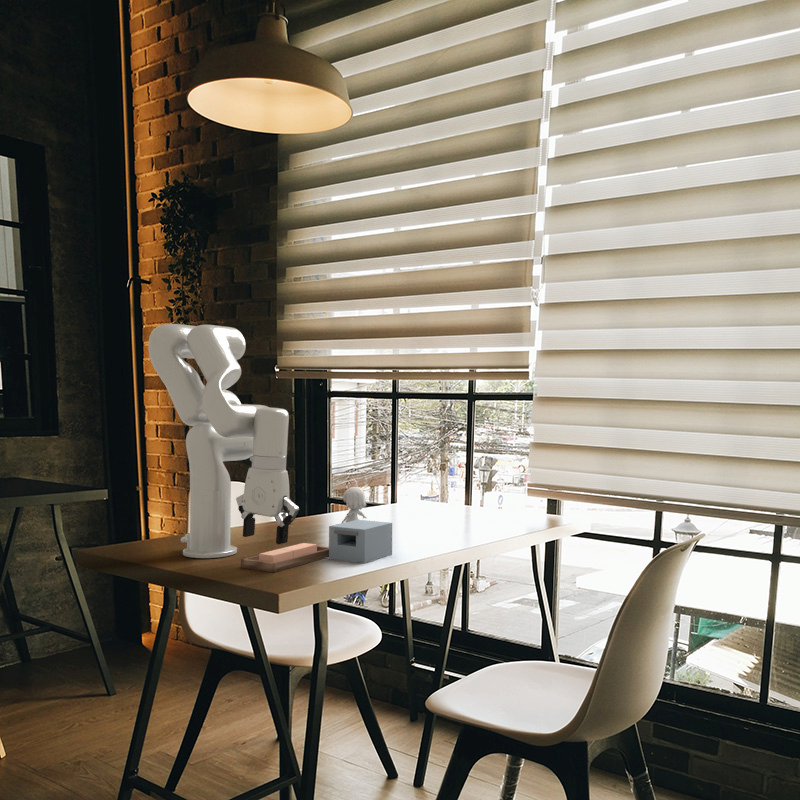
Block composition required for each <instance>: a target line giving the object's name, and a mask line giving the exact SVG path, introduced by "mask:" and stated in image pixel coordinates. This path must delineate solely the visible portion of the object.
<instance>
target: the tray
mask: <svg viewBox="0 0 800 800" xmlns="http://www.w3.org/2000/svg"><path fill="white" fill-rule="evenodd" d="M327 558H329V546H321V545H317V552H313V553H310V554H306V555H302V556H298V557H295V558H291V559H287V560H283V561H280V562H276V563H271V562H264V561H259V554H258V555H253V556H250V557H244V558H241V559H240V569H241V568H242V569H249V570H254V571H260V572H261V571H262V572H270V573H277V572H281V571H284V570H288V569H291V568H295V567H299V566H302V565H305V564H309V563H314V562H316V561H320V560H324V559H327Z"/></svg>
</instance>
